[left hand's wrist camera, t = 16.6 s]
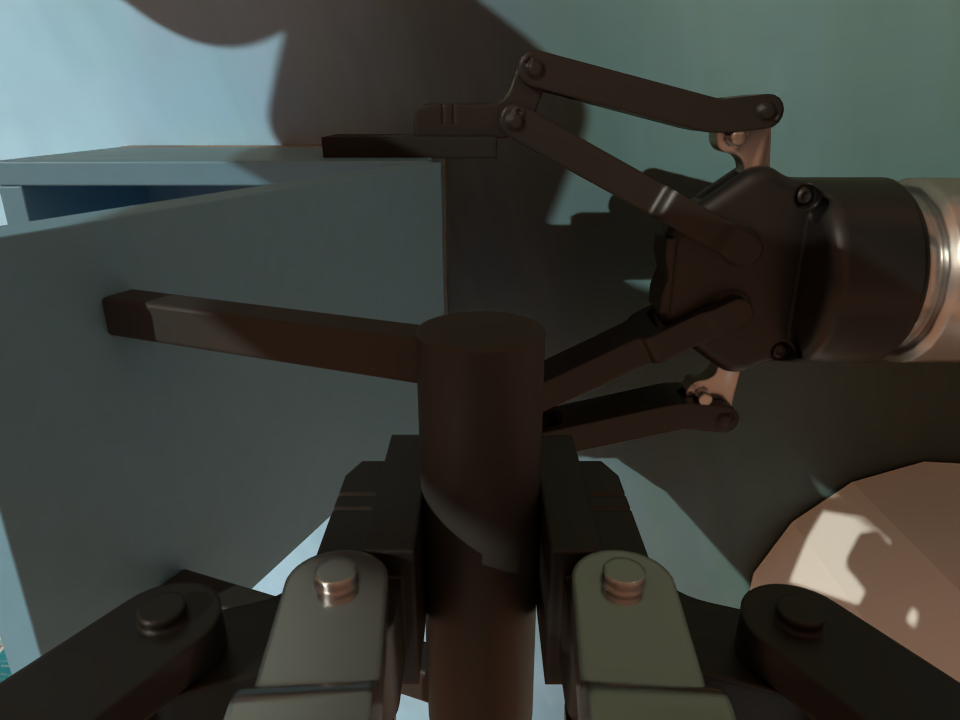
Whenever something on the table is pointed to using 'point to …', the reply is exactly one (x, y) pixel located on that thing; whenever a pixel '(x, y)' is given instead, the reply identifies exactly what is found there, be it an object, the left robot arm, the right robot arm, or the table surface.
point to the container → (885, 557)
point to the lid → (263, 413)
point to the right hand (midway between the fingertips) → (339, 271)
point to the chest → (169, 177)
